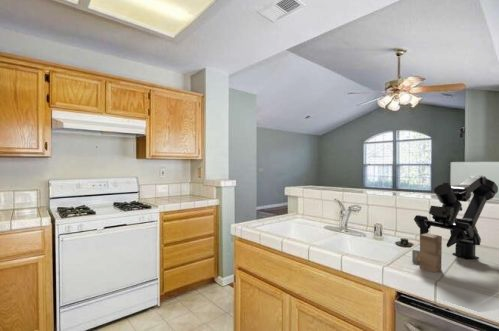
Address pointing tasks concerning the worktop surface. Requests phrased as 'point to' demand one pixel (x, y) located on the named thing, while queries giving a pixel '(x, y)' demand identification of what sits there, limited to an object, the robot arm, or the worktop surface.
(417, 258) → the letter block
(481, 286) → the worktop surface
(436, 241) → the walnut post
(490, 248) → the worktop surface
